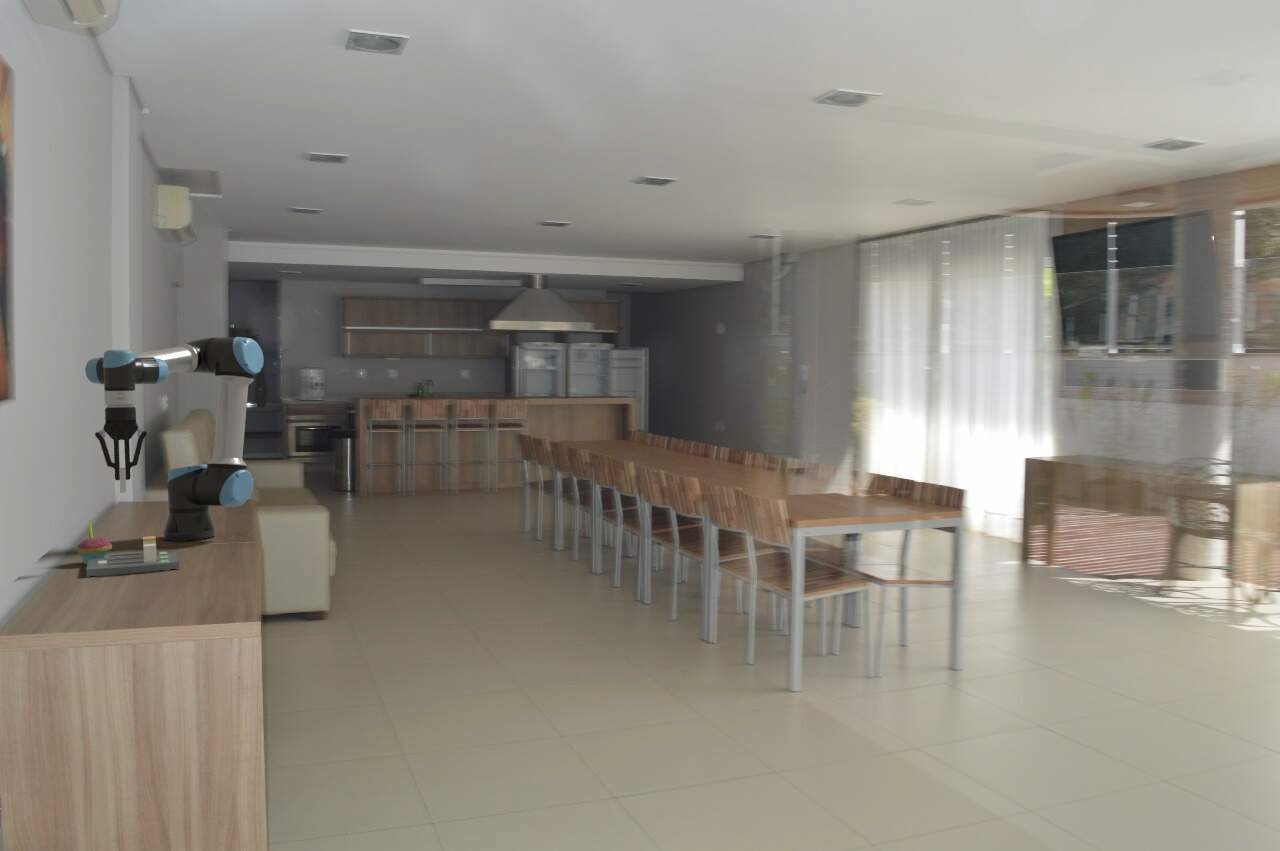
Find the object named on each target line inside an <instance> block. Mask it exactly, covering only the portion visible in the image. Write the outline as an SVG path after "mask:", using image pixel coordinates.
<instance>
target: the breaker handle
mask: <svg viewBox="0 0 1280 851" xmlns="http://www.w3.org/2000/svg"><path fill="white" fill-rule="evenodd" d="M156 540H157V538H156V536H155V537H151V536H143V537H142V545H143V544H156V545H157V541H156Z"/></svg>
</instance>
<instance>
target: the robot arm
mask: <svg viewBox="0 0 1280 851" xmlns="http://www.w3.org/2000/svg"><path fill="white" fill-rule="evenodd" d="M264 359H265V358H264V354H263V350H262V348H261V347H260V345H259V344H258V342H257V341H256V340H254V339H253V338H250V337H241V336H236V337H235V336H232V337H230V336H229V337H206V338H201V339H195V340H192V341H187V342H182V343H179V344H177V345H175V346H174V347H170V348H163V349H157V350H149V351H144V352H137V353H135V352H134V351H133V350H129V349H108V350H107V349H106V350H105V351H104V352H103V356H101V357H94V358H91V359H89V360H88V361H87V362H86V365H85V368H84V371H85V375H86V379H88V381H89V382H90V383H93V384H98V385H99V384H100V385H104V388H103V389H104V392H103V394H104V405H105V406H106V407H105V408H104V419H105V422H104V425H103V428H102V429H101V430H99V431H96V432H95V433H94V436H95V437H96V439H97V440H98V441H99V444H100V446H101V447H100V448H101V450H102V452H103V453H102V454H103V457H104V461H105V464H106V466H107V467H109V468H112V469H113V470H114V480H115V481H119V493H127V481H130V480H131V477H132V476H131V468H132V467H135V466H137V465H138V462H139V458H140V454H141V450H142V445H143V442H144V439H145V438H146V436H147V435H148V431H146V430H143V429H141V428H140V427H139V425H138V423H137V408H136V407H135V406H134V405H136V402H137V400H136V385H157V384H162V383H164V382H165V381H166V380H167V379H168V377H169V374H173V373H182V374H190V373H193V374H194V373H200V374H201V373H202V374H214V378H215V380H216V381H217V382H218V383H219V385H218V386H219V387H218V396H217V407H216V408H217V409H216V418H215V419H216V422H215V431H214V442H213V443H214V445H213V454H212V455H213V456H212V459H211V460H209V461H208V462H207V463H206V464H194V465H189V466H188V465H187V466H181V467H174V468H171V469H169V471H168V473H167V494H168V495H167V496H168V498H167V499H168V517H167V520H166V524H165V527H164V529H163V540H164V539H166V540H165V541H168V540H192V541H194V540H193V539H201V540H203V539H202V538H207V539H209V538H208V537H211V538H213V537H212V536H214V535H215V536H216V527H215V525H214V523H213V520H212V517H211V515H210V508H209V507H224V508H231V507H239V506H242V505H244V504H245V503H246V502H247V501H248V500H249V498H250V497H251V496H252V494H253V490H254V478H253V474H252V473H251V472H250V471H248V470H247V469H248V468H247V466H248V465H247V464H246V461H245V462H244V461H243V460H244V459H243V455H244V454H243V452H244V444H245V443H244V442H245V441H244V440H245V432H246V431H245V430H246V419H247V418H246V417H247V407H248V392H249V385H250V384H252V383H253V382H254V381H255V375H256V374H259V373H260V372H262V370H263V367H264ZM136 432H137V435H136V436H137V437H138V438H137V442H136V446H135V450H134V454H133V459H132V461H131V454H130V453H131V452H130V449H131V448H130V439H132V438H133V436H134V435H135V434H136ZM106 434H107V435H108V436H109V437H110V439H112V440H113V458H114V461H112V459H111V455H110V452H109V449H108V447H107V443H106V440H105V437H106ZM120 441H123V443H124V446H123V447H124V467H120ZM215 536H214V537H215Z"/></svg>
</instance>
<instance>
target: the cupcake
mask: <svg viewBox="0 0 1280 851" xmlns="http://www.w3.org/2000/svg"><path fill="white" fill-rule="evenodd" d="M87 525H88V530H89V538H88V539H87V538H86V539H85V540H82V541H81V542H79V544H78V545H77V550H76V551H77V553H78V554H79V555H80V556H81V558H82V561H83V563H84V565H85V564H88V560H89V559H95V558H107V555H108V552H109V551H112V548H113V545H112V542H110V541H109V540H107V539H106V538H101V537H100V538H99V537H96V538H95V537H94V536H93V529H92V528H93V527H92V523H91V521H90V520H88V524H87Z"/></svg>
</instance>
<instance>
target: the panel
mask: <svg viewBox="0 0 1280 851" xmlns="http://www.w3.org/2000/svg"><path fill="white" fill-rule="evenodd" d="M150 537H156V536H155V535H154V536H152V535H151V536H150ZM142 546H143V547H142V548H143V549H142V550H143V551H139V552H138V551H137V552H128V553H127V552H126V553H114V554H113V553H112V554H109V555H108V557H106V558H95V559H89V560H88V564H87V565H86V568H85V574H86V576H85V577H86V578H91V577H90V576H96V577H105V576H118V575H130V574H140V573H141V574H142V573H152V572H151V571H154V572H161V571H160V570H165V571H170V570H169V569H177V568H179V569H180V559H179V556H178V552H177V551H173V552H168V551H159V553H158V550H157V543H156V544H143V543H142ZM177 570H178V569H177Z"/></svg>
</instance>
